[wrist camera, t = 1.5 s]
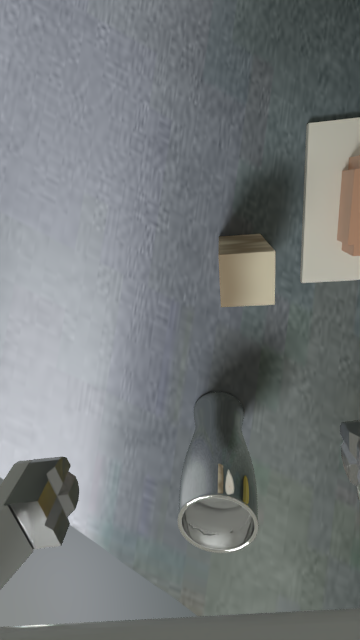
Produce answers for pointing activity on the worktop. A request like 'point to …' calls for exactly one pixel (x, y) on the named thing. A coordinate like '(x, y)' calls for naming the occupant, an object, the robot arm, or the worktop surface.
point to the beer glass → (218, 479)
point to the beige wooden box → (246, 271)
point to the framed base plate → (331, 202)
